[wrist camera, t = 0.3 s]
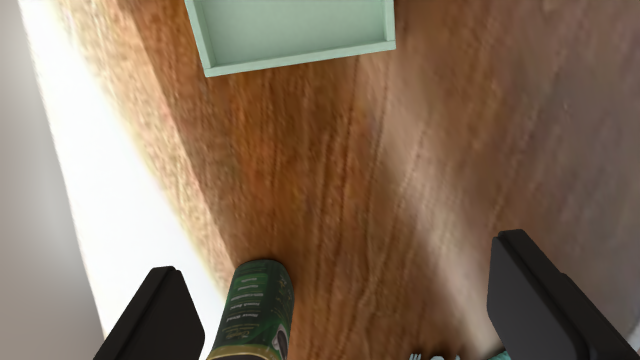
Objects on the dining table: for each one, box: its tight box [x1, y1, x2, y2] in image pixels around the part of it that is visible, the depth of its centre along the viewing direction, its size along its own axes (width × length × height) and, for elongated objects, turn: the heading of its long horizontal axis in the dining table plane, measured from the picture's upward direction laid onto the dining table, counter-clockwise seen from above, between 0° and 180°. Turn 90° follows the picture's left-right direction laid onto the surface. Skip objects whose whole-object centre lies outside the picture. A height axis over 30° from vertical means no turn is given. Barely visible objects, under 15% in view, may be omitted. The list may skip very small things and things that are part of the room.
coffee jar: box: [206, 259, 294, 360], centre depth 43 cm, size 10×8×19 cm
